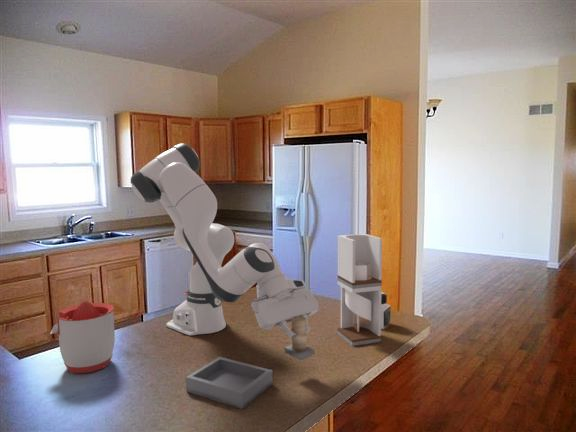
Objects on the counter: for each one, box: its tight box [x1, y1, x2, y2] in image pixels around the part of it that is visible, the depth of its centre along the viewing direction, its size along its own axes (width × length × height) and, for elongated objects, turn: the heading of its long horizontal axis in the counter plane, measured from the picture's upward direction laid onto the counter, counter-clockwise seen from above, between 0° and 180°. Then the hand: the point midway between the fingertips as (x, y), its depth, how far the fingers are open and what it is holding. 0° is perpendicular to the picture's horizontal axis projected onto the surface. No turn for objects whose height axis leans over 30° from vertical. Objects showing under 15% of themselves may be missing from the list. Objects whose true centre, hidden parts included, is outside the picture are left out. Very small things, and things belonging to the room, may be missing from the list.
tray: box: [185, 356, 273, 410], centre depth 116 cm, size 18×14×4 cm
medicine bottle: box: [381, 291, 391, 330], centre depth 162 cm, size 7×7×12 cm
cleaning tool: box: [284, 317, 315, 361], centre depth 122 cm, size 7×5×10 cm
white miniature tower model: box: [337, 233, 383, 347], centre depth 148 cm, size 11×11×35 cm
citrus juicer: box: [49, 300, 116, 374], centre depth 129 cm, size 16×17×20 cm
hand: (300, 334), depth 121 cm, fingers closed on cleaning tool, 4 cm apart
